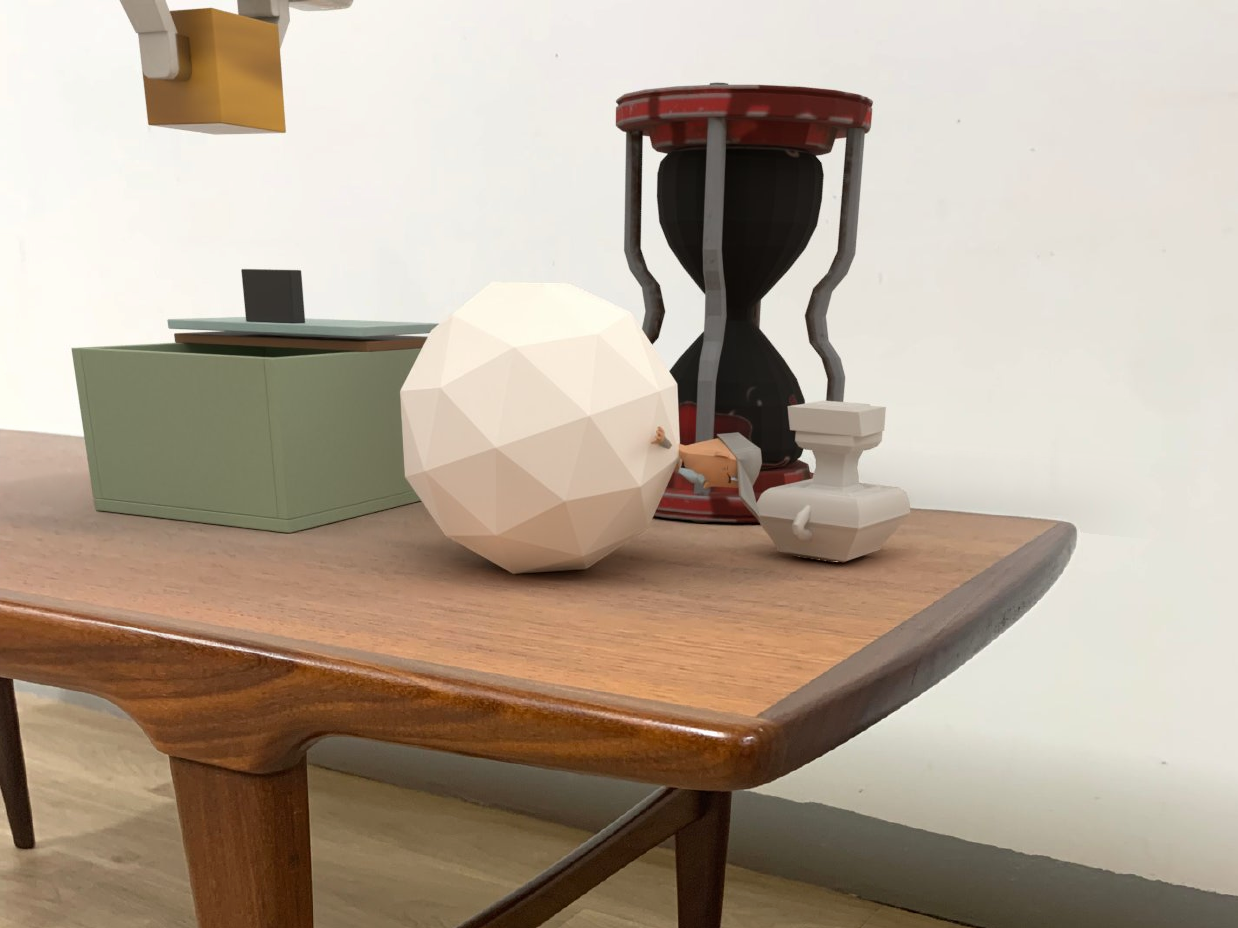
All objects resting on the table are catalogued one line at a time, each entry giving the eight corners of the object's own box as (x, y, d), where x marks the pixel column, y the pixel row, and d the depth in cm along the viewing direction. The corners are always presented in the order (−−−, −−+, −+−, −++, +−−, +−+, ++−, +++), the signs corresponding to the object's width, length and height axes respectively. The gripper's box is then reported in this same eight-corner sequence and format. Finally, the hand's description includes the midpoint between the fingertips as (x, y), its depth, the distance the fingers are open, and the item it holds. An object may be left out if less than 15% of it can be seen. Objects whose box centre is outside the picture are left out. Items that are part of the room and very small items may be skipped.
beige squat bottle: (846, 577, 70) (859, 414, 66) (740, 561, 73) (748, 405, 70) (914, 551, 76) (930, 402, 73) (815, 538, 80) (825, 394, 76)
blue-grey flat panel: (167, 328, 87) (160, 267, 86) (256, 325, 95) (251, 268, 93) (362, 337, 81) (358, 271, 80) (440, 332, 89) (438, 272, 87)
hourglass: (580, 515, 86) (581, 84, 76) (646, 481, 100) (654, 115, 90) (821, 532, 82) (856, 78, 72) (854, 494, 96) (887, 112, 86)
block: (147, 125, 62) (135, 12, 60) (214, 134, 66) (205, 29, 64) (221, 123, 60) (211, 7, 58) (286, 133, 64) (278, 24, 62)
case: (94, 510, 85) (69, 337, 80) (274, 476, 100) (261, 329, 95) (289, 533, 78) (273, 347, 74) (450, 493, 93) (444, 337, 89)
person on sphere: (328, 528, 63) (727, 607, 60) (383, 207, 61) (798, 273, 58) (423, 562, 77) (749, 628, 74) (470, 303, 75) (807, 360, 72)
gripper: (280, -191, 66) (300, 114, 72) (-72, -357, 49) (-10, 60, 55) (380, -206, 64) (393, 111, 69) (47, -386, 47) (99, 53, 53)
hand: (213, 88), depth 62 cm, fingers closed on block, 4 cm apart
